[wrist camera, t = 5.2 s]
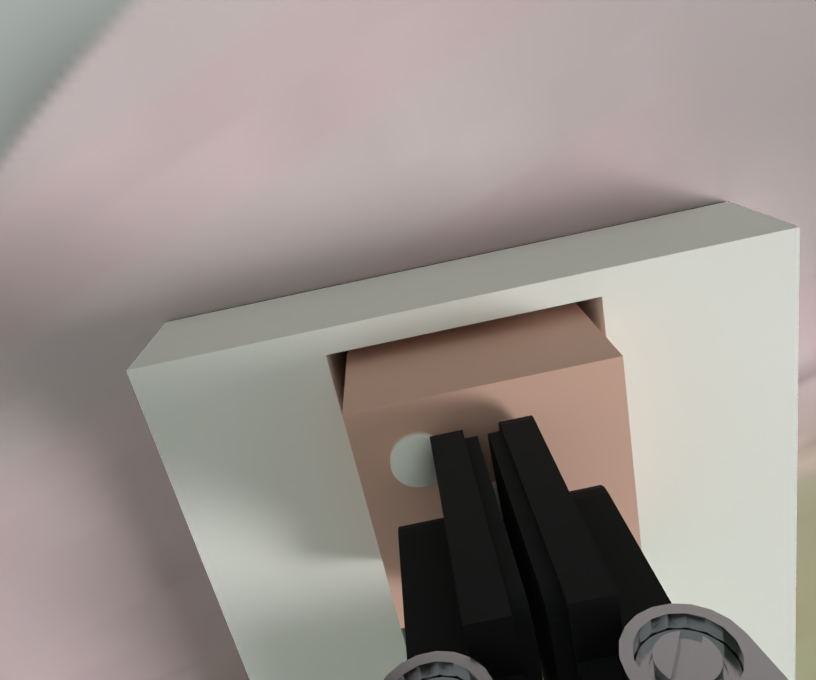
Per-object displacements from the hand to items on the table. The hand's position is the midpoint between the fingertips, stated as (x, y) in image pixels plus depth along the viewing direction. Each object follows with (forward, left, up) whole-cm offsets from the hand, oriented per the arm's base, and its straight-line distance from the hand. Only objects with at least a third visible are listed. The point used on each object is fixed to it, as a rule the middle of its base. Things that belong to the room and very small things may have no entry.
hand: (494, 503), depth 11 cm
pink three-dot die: (0, 0, -4) cm, 4 cm away
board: (-6, 0, -5) cm, 8 cm away
